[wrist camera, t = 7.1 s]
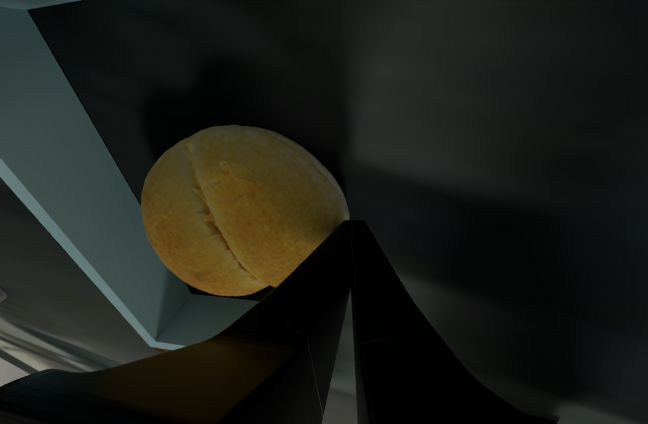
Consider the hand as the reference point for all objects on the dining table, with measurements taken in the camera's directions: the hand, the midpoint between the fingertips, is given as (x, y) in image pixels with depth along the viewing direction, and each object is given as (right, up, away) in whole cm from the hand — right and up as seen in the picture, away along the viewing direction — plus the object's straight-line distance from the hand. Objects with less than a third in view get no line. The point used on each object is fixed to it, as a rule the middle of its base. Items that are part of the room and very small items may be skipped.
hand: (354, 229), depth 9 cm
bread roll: (-4, +1, +3) cm, 6 cm away
